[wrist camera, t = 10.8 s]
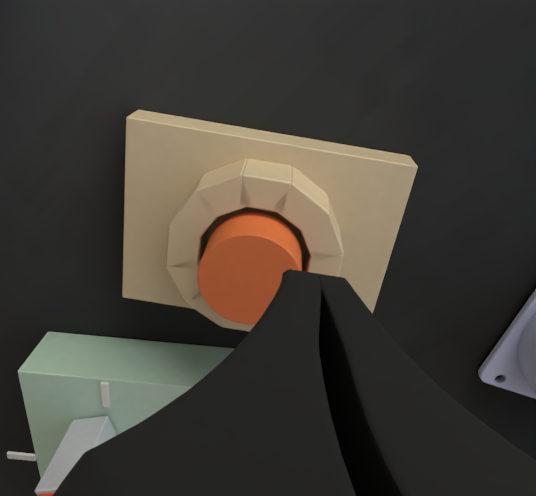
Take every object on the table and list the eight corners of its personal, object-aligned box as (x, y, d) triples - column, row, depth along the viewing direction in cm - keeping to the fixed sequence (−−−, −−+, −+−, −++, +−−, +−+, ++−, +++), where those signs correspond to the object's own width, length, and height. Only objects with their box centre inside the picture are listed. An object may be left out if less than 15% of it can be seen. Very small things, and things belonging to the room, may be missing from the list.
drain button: (309, 220, 17) (311, 244, 16) (292, 302, 19) (291, 332, 17) (211, 204, 17) (202, 226, 16) (202, 288, 19) (192, 316, 17)
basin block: (304, 354, 24) (305, 400, 21) (286, 498, 29) (284, 551, 26) (21, 328, 24) (-15, 370, 22) (51, 475, 29) (24, 525, 27)
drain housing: (410, 155, 19) (431, 184, 16) (361, 317, 23) (371, 367, 20) (137, 109, 19) (106, 129, 16) (132, 280, 23) (106, 324, 20)
